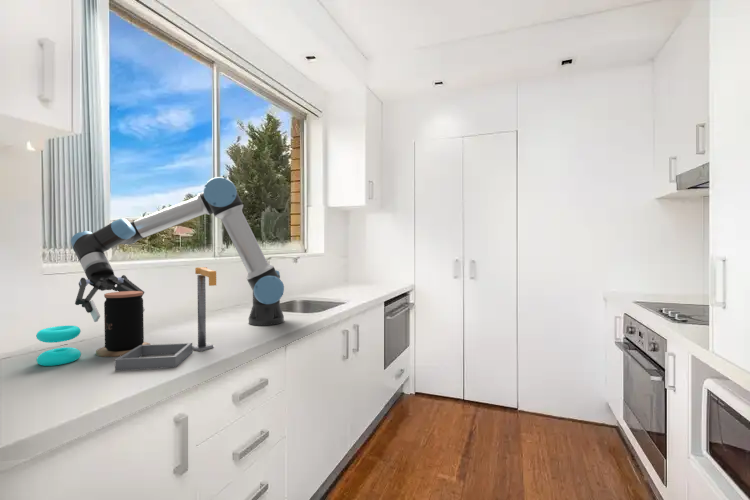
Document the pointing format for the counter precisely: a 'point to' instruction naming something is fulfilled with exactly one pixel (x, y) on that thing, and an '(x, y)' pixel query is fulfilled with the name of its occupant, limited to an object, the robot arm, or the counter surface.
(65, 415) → the counter surface
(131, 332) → the coffee jar
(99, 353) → the coaster
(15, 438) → the counter surface
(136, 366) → the grey square tray
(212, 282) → the clip arm
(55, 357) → the donuts
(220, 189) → the robot arm
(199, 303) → the post
